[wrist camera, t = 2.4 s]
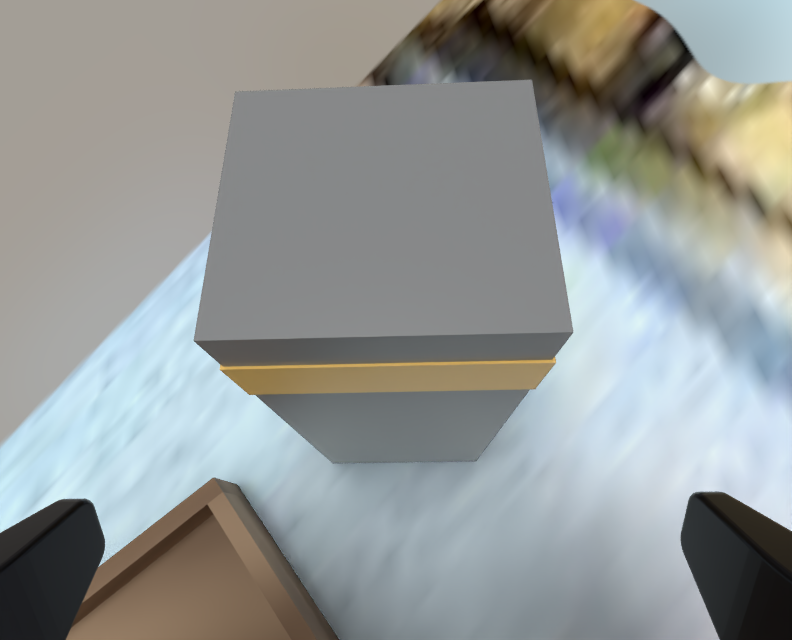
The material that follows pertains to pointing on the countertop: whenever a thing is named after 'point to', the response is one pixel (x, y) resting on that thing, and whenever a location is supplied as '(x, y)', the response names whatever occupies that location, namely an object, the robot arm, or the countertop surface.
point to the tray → (200, 580)
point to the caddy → (386, 265)
